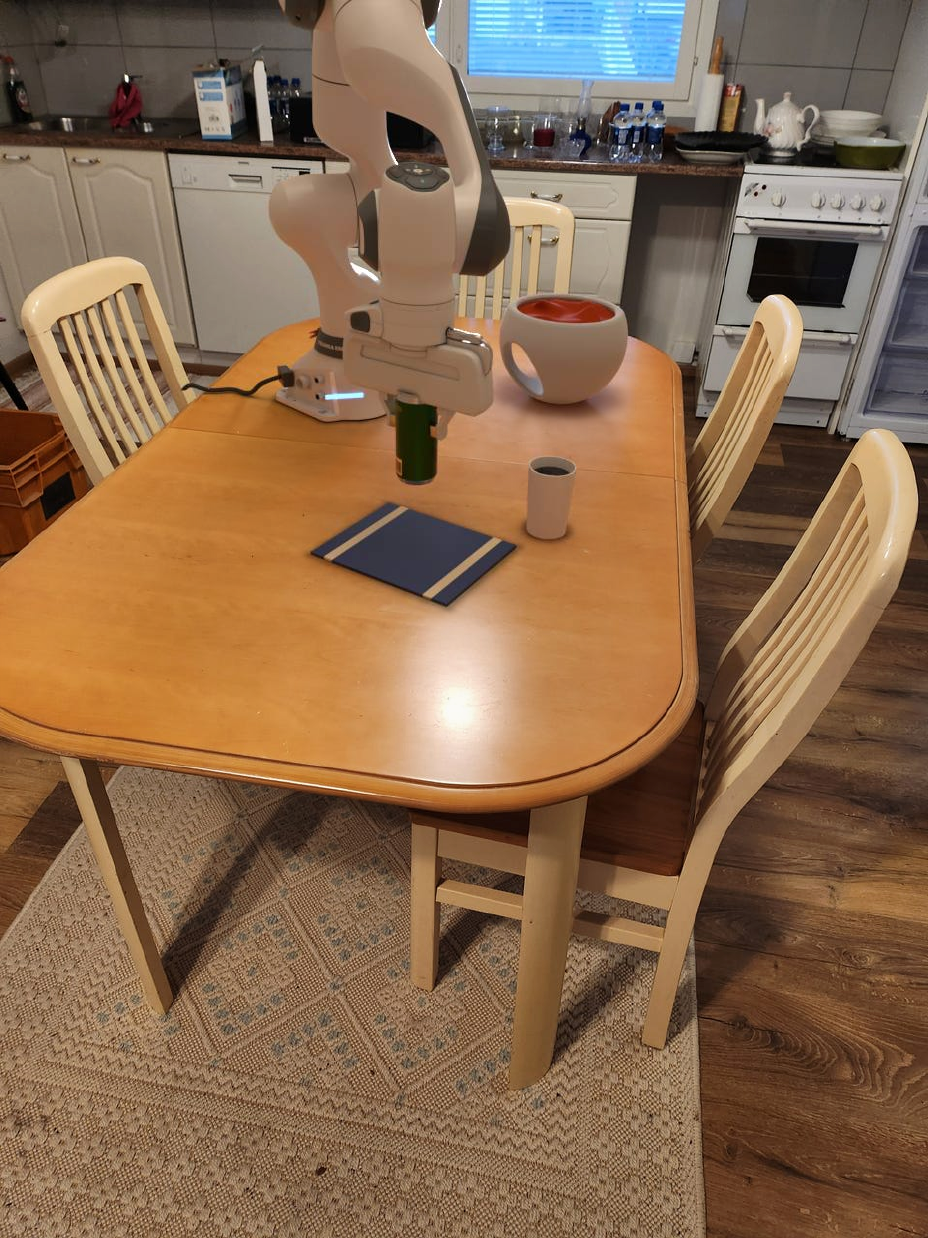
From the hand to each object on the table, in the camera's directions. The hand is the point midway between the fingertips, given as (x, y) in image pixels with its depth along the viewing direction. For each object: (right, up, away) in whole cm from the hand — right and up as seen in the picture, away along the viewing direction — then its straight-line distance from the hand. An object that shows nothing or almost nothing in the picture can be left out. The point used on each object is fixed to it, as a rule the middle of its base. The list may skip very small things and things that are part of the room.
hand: (416, 431), depth 110 cm
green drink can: (0, -5, +4) cm, 7 cm away
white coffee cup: (+18, -11, +16) cm, 26 cm away
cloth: (-1, -14, +10) cm, 17 cm away
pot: (+24, +20, +60) cm, 68 cm away
